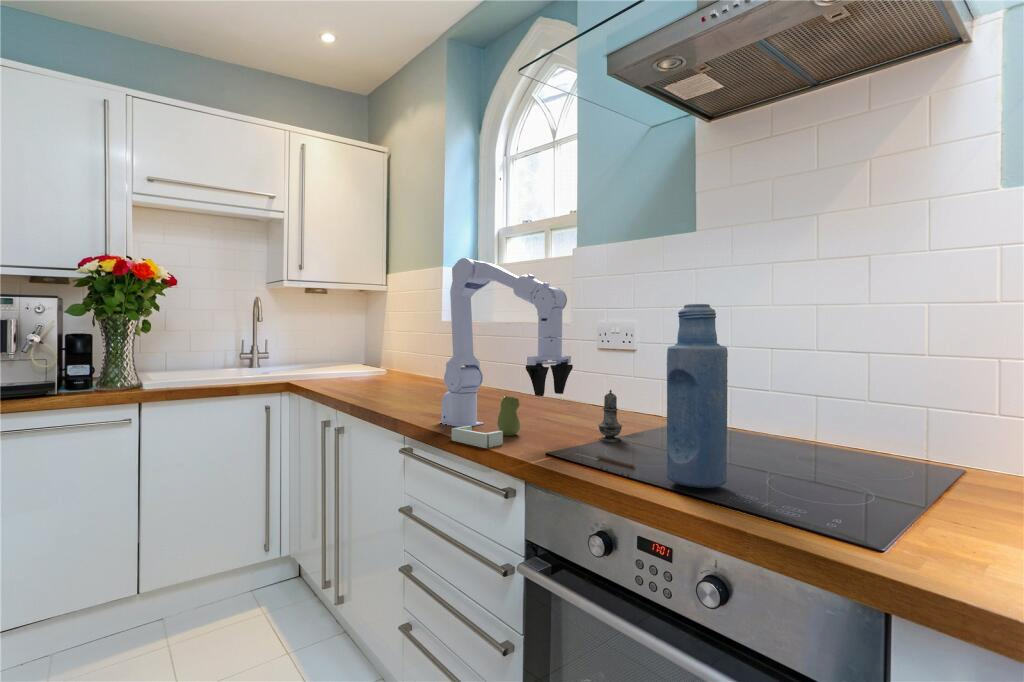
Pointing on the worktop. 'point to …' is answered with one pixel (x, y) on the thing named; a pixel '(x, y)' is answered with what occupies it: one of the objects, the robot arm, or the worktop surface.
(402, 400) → the worktop surface
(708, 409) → the bottle
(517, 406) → the pear
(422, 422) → the worktop surface
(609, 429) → the salt shaker
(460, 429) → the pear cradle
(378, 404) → the worktop surface
